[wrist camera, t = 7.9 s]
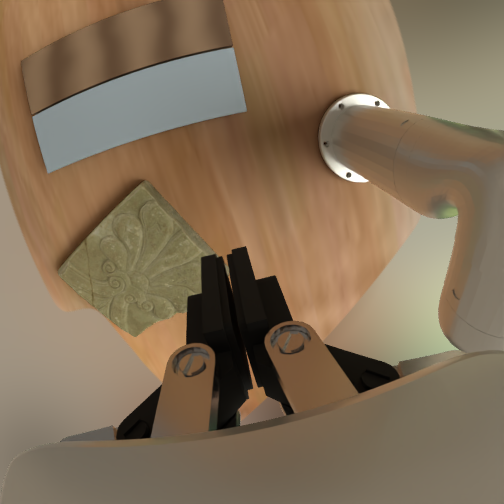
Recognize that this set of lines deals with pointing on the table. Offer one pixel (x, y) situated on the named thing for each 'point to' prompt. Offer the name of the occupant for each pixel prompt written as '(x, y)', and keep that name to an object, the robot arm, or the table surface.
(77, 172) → the table surface
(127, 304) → the decorative tile
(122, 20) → the walnut plank
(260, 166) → the table surface
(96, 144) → the grey-blue plank
